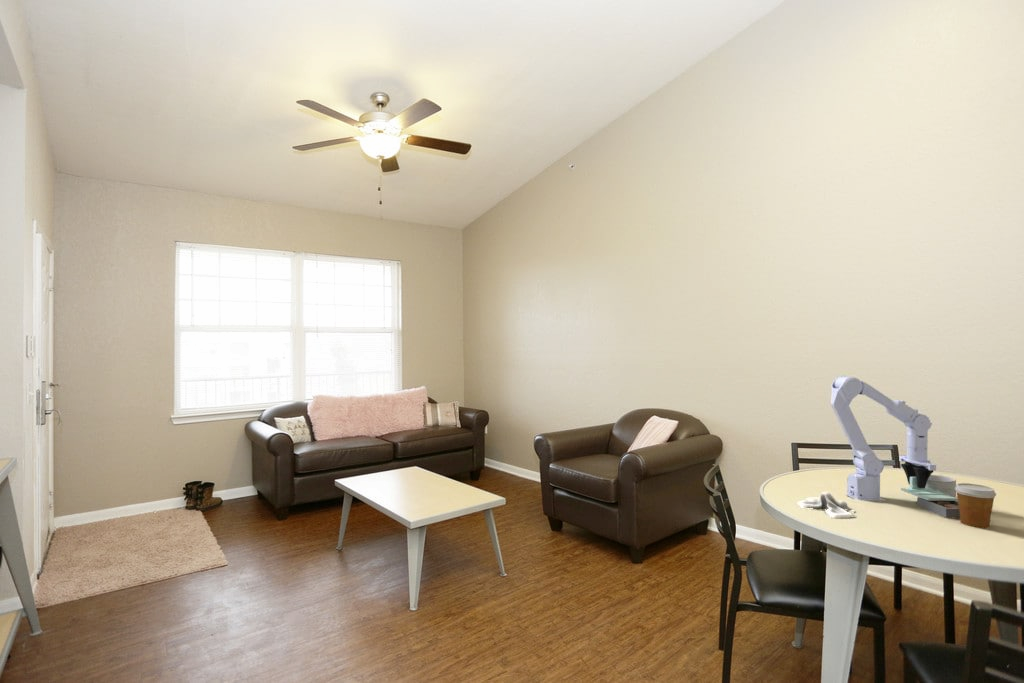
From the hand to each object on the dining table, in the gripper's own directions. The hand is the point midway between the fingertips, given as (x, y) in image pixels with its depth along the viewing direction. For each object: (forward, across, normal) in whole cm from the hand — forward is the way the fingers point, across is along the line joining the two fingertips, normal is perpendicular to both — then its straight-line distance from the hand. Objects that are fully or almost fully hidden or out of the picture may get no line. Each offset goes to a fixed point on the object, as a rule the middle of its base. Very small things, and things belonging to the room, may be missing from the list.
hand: (916, 486), depth 185 cm
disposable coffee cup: (+6, -25, +1) cm, 25 cm away
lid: (+2, -5, 0) cm, 6 cm away
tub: (+5, -13, 0) cm, 14 cm away
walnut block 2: (+5, -16, 0) cm, 17 cm away
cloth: (+6, -8, +35) cm, 36 cm away
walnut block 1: (+5, -10, 0) cm, 11 cm away
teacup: (+6, +4, -11) cm, 13 cm away
